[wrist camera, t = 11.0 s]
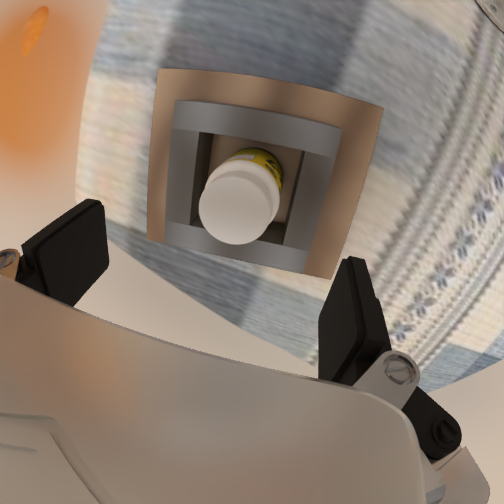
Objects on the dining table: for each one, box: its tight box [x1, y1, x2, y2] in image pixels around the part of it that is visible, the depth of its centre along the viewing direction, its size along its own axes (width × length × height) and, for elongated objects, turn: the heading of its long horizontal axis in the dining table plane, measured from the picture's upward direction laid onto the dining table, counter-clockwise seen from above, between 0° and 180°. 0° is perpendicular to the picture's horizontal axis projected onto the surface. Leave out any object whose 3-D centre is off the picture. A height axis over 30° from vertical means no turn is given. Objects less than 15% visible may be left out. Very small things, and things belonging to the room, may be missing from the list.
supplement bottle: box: [199, 147, 284, 245], centre depth 19 cm, size 5×5×8 cm
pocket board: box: [147, 69, 384, 280], centre depth 22 cm, size 18×16×5 cm
